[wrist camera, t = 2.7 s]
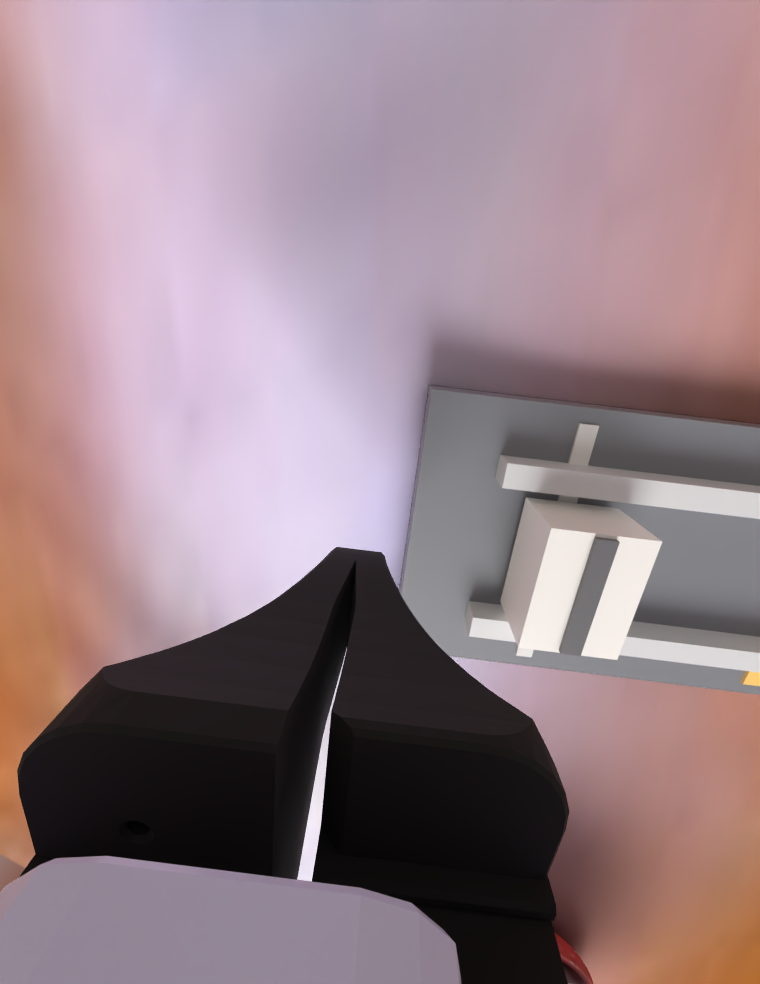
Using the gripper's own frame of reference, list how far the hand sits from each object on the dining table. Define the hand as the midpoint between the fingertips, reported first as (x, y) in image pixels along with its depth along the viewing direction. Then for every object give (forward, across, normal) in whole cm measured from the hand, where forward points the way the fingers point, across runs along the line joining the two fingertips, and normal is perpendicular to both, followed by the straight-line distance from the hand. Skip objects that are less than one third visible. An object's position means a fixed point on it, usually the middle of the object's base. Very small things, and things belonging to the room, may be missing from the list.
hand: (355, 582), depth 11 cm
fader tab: (+3, -7, 0) cm, 7 cm away
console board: (+5, -11, 0) cm, 12 cm away
